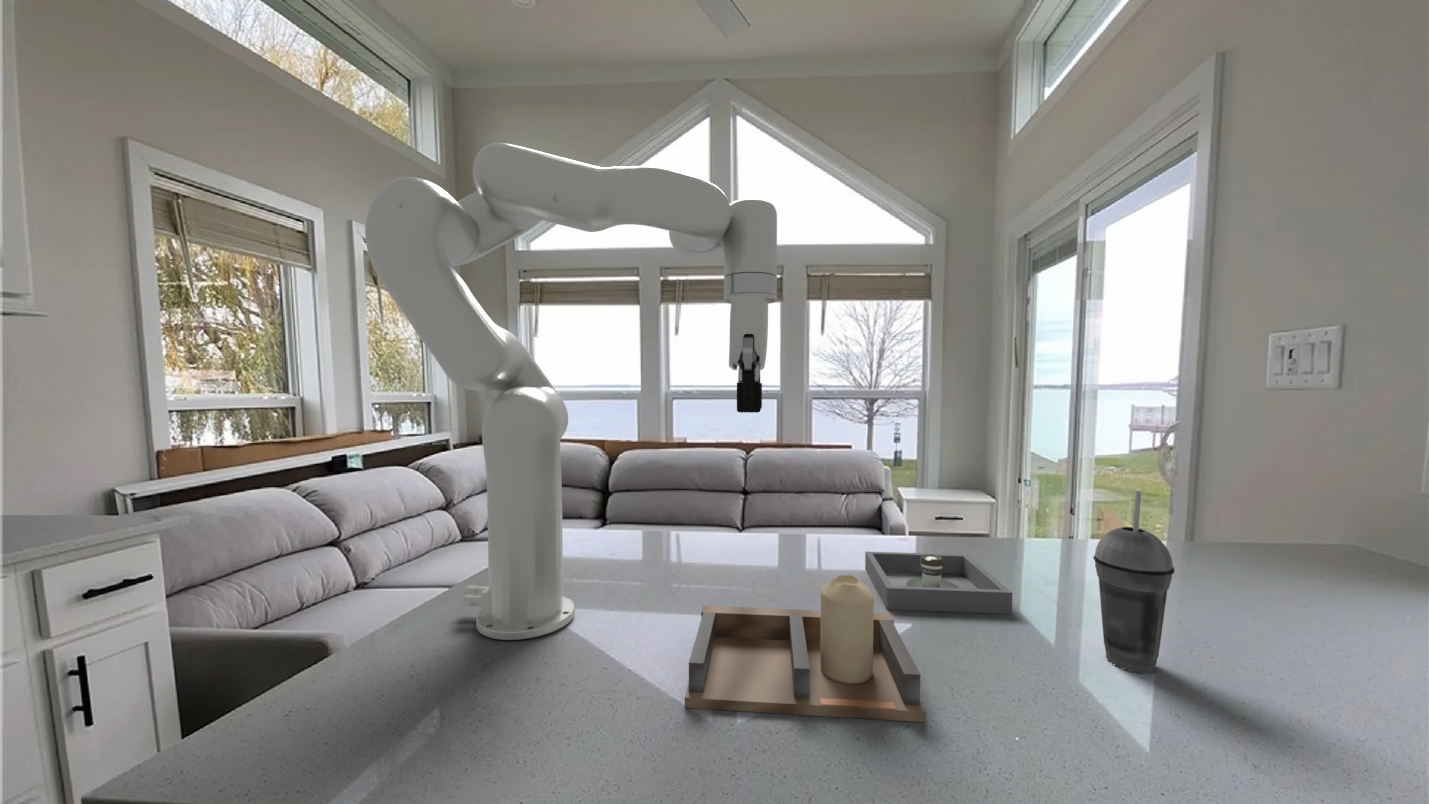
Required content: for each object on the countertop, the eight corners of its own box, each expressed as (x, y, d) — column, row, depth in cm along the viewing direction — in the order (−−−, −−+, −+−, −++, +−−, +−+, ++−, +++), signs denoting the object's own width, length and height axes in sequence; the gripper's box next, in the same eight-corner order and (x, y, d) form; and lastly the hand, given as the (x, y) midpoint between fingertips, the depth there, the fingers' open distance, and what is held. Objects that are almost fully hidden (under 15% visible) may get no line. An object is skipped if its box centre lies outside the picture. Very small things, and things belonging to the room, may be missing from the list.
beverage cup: (1154, 653, 63) (1158, 485, 63) (1185, 685, 56) (1190, 498, 56) (1082, 643, 66) (1085, 482, 65) (1104, 673, 59) (1107, 493, 58)
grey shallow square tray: (886, 609, 76) (886, 588, 76) (865, 568, 93) (865, 551, 93) (1012, 614, 74) (1012, 592, 74) (966, 571, 91) (967, 554, 91)
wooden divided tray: (684, 707, 53) (684, 667, 53) (703, 636, 68) (703, 605, 67) (925, 722, 50) (926, 680, 50) (889, 645, 65) (890, 613, 65)
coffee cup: (977, 583, 85) (978, 552, 85) (967, 609, 75) (968, 574, 75) (900, 569, 92) (900, 540, 92) (881, 592, 82) (881, 560, 82)
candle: (874, 688, 54) (875, 591, 54) (819, 681, 56) (820, 586, 55) (871, 660, 60) (872, 572, 59) (821, 655, 61) (821, 568, 61)
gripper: (728, 301, 85) (728, 408, 86) (718, 279, 68) (718, 413, 68) (776, 300, 84) (775, 408, 85) (777, 278, 67) (777, 413, 68)
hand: (750, 410), depth 77 cm, fingers open, 9 cm apart
